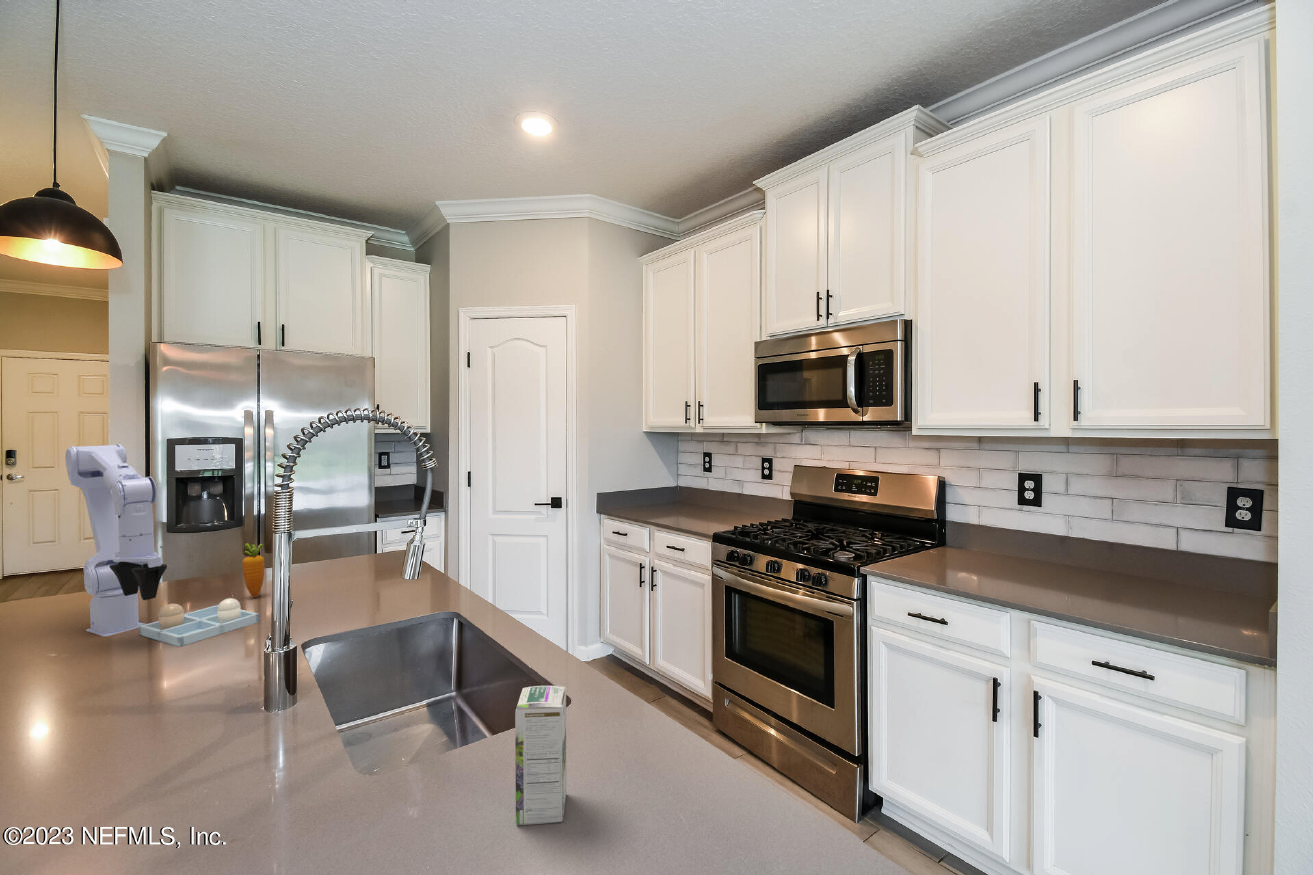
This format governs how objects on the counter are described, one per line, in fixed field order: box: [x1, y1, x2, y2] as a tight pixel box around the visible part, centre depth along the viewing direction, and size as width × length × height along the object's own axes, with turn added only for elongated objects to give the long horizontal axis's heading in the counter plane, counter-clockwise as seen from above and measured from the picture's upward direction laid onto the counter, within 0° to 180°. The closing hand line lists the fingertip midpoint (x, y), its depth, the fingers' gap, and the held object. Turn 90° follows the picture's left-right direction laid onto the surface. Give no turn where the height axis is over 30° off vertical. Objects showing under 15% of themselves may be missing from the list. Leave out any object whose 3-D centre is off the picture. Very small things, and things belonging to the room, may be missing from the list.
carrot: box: [241, 542, 265, 599], centre depth 162 cm, size 5×5×15 cm
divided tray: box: [138, 604, 261, 648], centre depth 138 cm, size 16×16×2 cm
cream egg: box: [217, 597, 242, 624], centre depth 140 cm, size 4×4×6 cm
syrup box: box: [514, 685, 567, 826], centre depth 75 cm, size 6×6×14 cm
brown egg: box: [158, 603, 185, 630], centre depth 136 cm, size 4×4×6 cm
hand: (139, 596), depth 130 cm, fingers open, 7 cm apart
